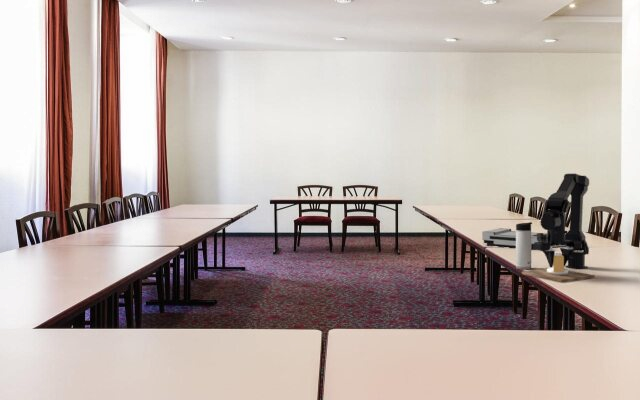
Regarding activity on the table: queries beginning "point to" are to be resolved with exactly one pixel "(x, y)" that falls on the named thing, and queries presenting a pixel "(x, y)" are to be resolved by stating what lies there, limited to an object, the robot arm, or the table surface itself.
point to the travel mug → (523, 246)
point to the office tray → (504, 238)
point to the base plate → (558, 278)
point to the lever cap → (558, 265)
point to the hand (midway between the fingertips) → (557, 266)
